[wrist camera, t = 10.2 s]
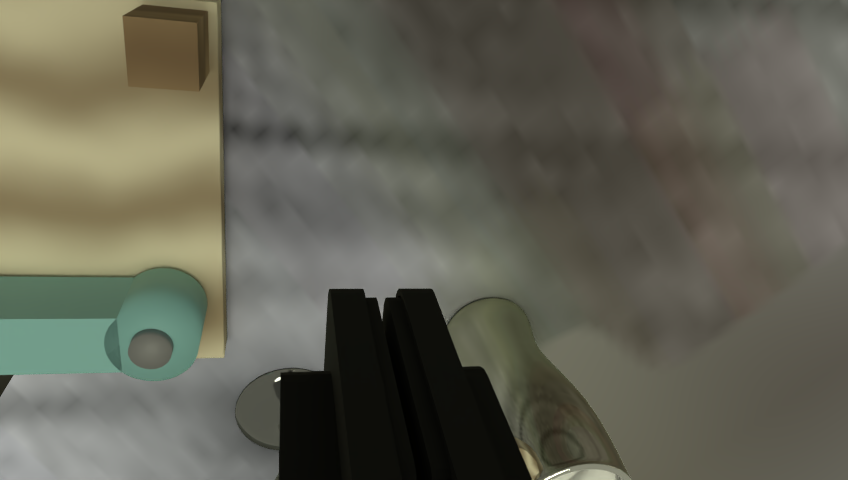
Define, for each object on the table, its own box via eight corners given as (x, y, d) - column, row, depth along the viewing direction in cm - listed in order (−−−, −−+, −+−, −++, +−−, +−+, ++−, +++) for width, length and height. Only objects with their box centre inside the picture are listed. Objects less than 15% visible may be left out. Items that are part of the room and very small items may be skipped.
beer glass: (420, 319, 41) (483, 503, 28) (516, 274, 41) (624, 439, 28) (457, 390, 45) (528, 585, 32) (546, 349, 45) (655, 527, 31)
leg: (-65, 338, 33) (-114, 396, 29) (-84, 265, 31) (-138, 315, 27) (208, 335, 36) (198, 387, 32) (206, 268, 34) (195, 314, 30)
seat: (-282, -55, 26) (-425, -49, 21) (220, -2, 31) (207, 13, 25) (-152, 342, 35) (-230, 417, 29) (226, 338, 39) (217, 402, 34)
